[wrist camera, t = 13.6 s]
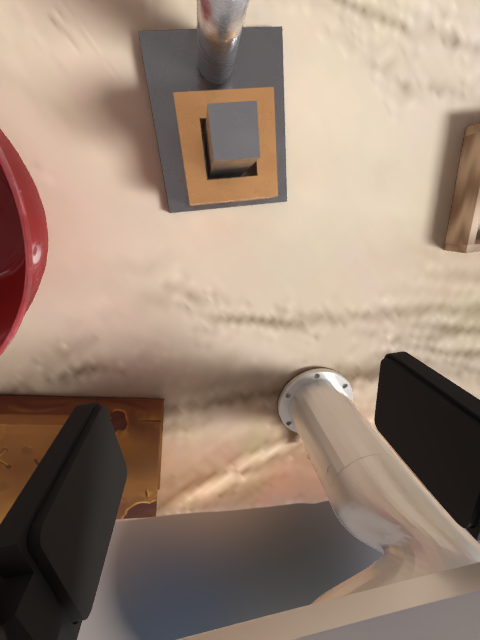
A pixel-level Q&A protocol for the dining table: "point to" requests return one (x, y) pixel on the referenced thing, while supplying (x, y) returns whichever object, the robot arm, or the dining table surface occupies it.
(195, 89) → the grey stepped fixture
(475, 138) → the wooden tray
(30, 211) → the mixing bowl
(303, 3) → the dining table surface
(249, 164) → the grey rectangular block
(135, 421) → the diary
